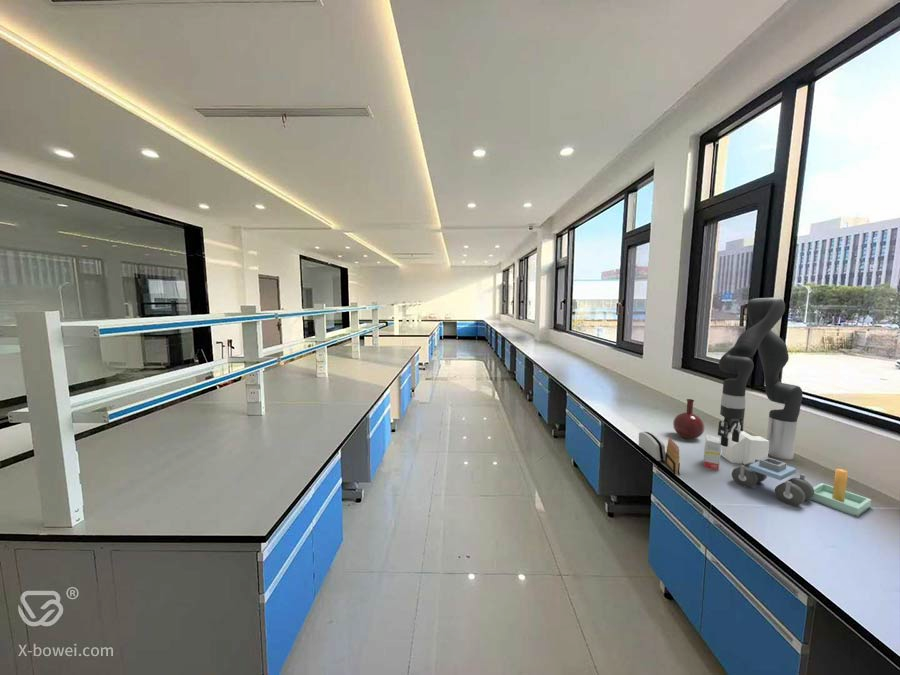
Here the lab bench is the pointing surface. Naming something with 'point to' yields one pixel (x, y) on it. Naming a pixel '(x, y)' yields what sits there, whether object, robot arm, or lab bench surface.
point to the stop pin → (840, 485)
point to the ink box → (712, 452)
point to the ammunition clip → (672, 457)
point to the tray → (851, 503)
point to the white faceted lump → (746, 449)
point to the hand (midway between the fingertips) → (729, 443)
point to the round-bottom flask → (688, 423)
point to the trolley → (786, 492)
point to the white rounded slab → (652, 445)
